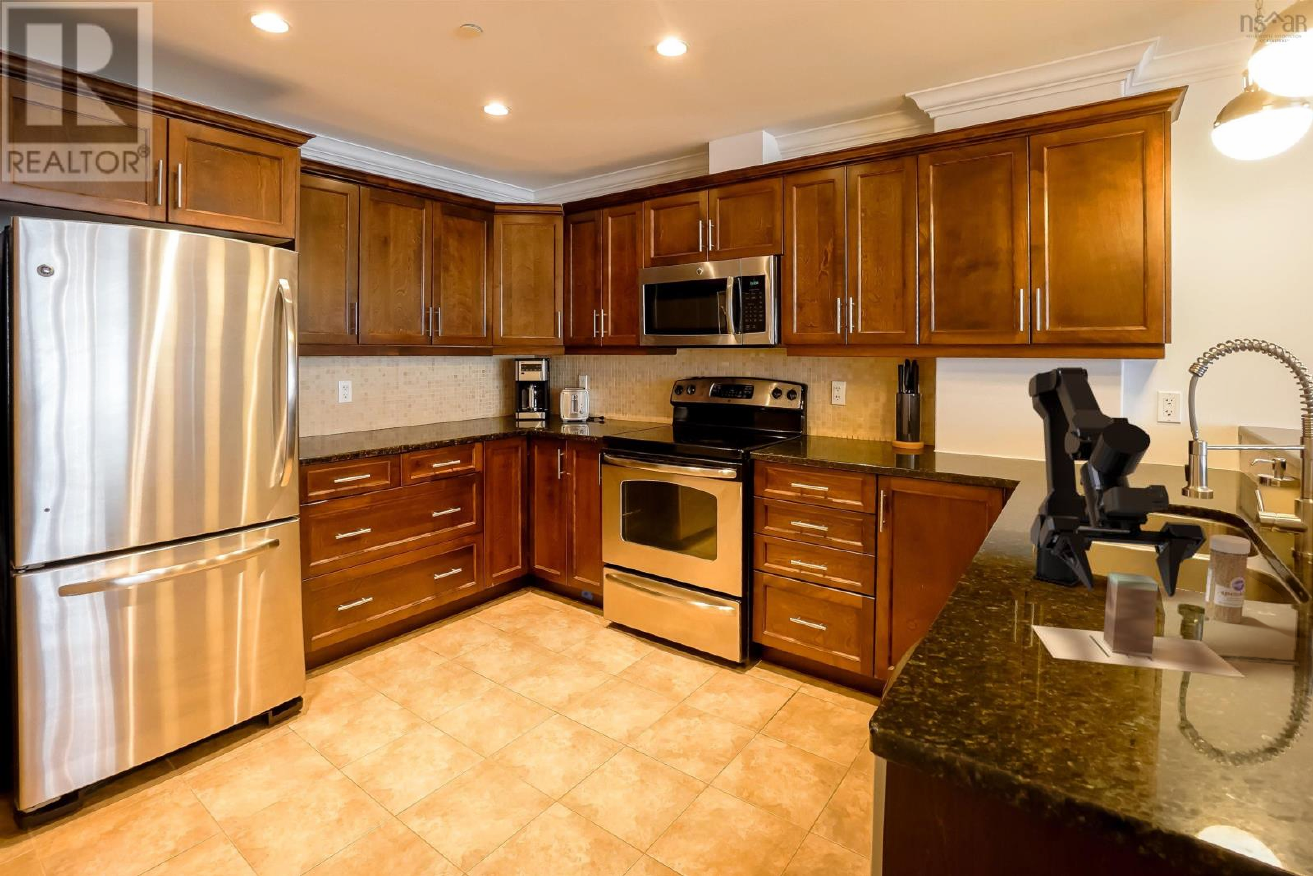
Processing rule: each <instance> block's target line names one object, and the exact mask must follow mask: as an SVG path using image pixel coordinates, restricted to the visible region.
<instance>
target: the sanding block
mask: <svg viewBox="0 0 1313 876" xmlns="http://www.w3.org/2000/svg"><path fill="white" fill-rule="evenodd" d="M1158 587H1159V583H1158V582H1157V581H1155V580H1154V579H1153V578H1152V577H1150V576H1149V575H1146V574H1138V573H1137V574H1136V573H1122V572H1111V571H1110V572H1108V573H1107V586H1106V600H1105V611H1104V613H1105V614H1104V627H1103V632H1104V638H1103V642H1104V643H1105V645H1106V646H1107V647H1108V648H1109V649H1110V650H1111V652H1112V653H1121V654H1130V655H1140V656H1150V657H1152V650H1153V638H1154V637H1155V626H1156V625H1155V624H1156V622H1155V621H1156V614H1157V612H1156V611H1157V601H1158V600H1157V599H1158V589H1159V588H1158Z"/></svg>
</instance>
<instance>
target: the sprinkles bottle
mask: <svg viewBox="0 0 1313 876" xmlns="http://www.w3.org/2000/svg"><path fill="white" fill-rule="evenodd" d="M1208 548H1209V552H1210V553H1209V561H1208V567H1207V568H1208V569H1207V576H1206V577H1207V579H1206V589H1205V606H1204V617H1206V618H1207V619H1210V620H1212V621H1216V622H1219V623H1224V624H1234V625H1237V624H1240V623H1242V620H1243V619H1242V617H1243V609H1244V604H1245V595H1246V582H1247V581H1246V579H1247V567H1248V566H1247V565H1248V556H1249V554H1250V552H1251V541H1250V539H1247V538H1244V537H1241V536H1235V535H1229V534H1213V535H1211V536H1210V539H1209V547H1208Z"/></svg>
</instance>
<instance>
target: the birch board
mask: <svg viewBox="0 0 1313 876" xmlns="http://www.w3.org/2000/svg"><path fill="white" fill-rule="evenodd" d="M1031 627H1032V629H1033V630H1034V631H1035V633H1036V634H1037V636H1038V637H1039V638H1040V640H1041V642H1042V643H1043V645H1044V646H1045V648H1046V649H1047V651H1048V652H1049V653H1050V654H1051V656H1052V657H1053V658H1054V659H1061V660H1062V659H1063V660H1069V661H1070V660H1071V661H1080V662H1092V663H1101V664H1111V665H1118V666H1119V665H1120V666H1131V667H1139V668H1148V669H1157V670H1158V669H1159V670H1169V671H1178V672H1179V671H1180V672H1186V673H1187V672H1188V673H1198V674H1204V675H1205V674H1206V675H1217V676H1226V677H1237V678H1247V677H1246V676H1245V675H1243V674H1242V673H1241V672H1240V671H1238V670H1237V669H1236V668H1235V667H1234V666H1232V665H1231V664H1230V663H1228V662H1227V661H1226V660H1225V659H1223V658H1222V657H1221V656H1220V655H1219V654H1217V653H1216V652H1215V651H1214V650H1213V649H1211V648H1210V647H1209V646H1208V645H1206V644H1205V643H1204V642H1202V640H1197V639H1185V638H1174V637H1166V636H1165V637H1164V636H1163V637H1162V636H1154V638H1153V650H1152V657H1150V656H1140V655H1130V654H1121V653H1112V652H1111V650H1110V649H1109V648H1108V647H1107V646H1106V645H1105V643H1104V642H1103V638H1104V631H1099V630H1087V629H1078V628H1077V629H1075V628H1067V627H1065V628H1063V627H1056V626H1055V627H1053V626H1045V625H1043V626H1042V625H1033V624H1031Z"/></svg>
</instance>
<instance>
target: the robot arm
mask: <svg viewBox="0 0 1313 876" xmlns="http://www.w3.org/2000/svg"><path fill="white" fill-rule="evenodd" d="M1027 389H1028V395H1029V397H1030V398H1031V404H1032V409H1033V410H1034V411H1035V412H1036V414H1037V415H1038V416H1039V417H1040V418H1041V420H1042V422H1043V438H1044V439H1043V440H1044V456H1045V457H1044V459H1045V473H1046V475H1045V476H1046V477H1045V478H1046V491H1047V493H1046V496H1045V498H1044V499H1043V501H1042V502H1041V503H1040V505H1039V507H1038V509H1037V514H1036V516H1035V517H1034V521H1033V523H1032V525H1031V527H1030V534H1029V535H1030V542H1031V543H1032V544H1033V545H1034V546H1035V547H1036V563H1035V573H1032V575H1031V578H1032V577H1037V578H1041V579H1045V580H1048V581H1047V582H1049V581H1051V582H1050V583H1053V582H1057V583H1056V584H1058V583H1061V584H1060V585H1062V584H1064V585H1063V586H1066V585H1067V587H1071V586H1074V585H1075V584H1077V583H1078V581H1079V582H1080V581H1081V582H1082V583H1083V584H1084V586H1085V587H1086V588H1087V590H1089V591H1093V590H1094V589H1095V582H1094V576H1093V573H1092V568H1091V565H1090V561H1089V558H1088V555H1087V552H1088V551H1089V552H1090V550H1091V548H1092V543H1093V542H1102V543H1107V544H1108V543H1109V544H1126V545H1128V544H1129V545H1142V546H1154V550H1155V553H1156V554H1157V555H1158V556H1157V558H1156V559H1155V563H1156V565H1157V567H1158V568H1157V569H1158V572H1159V574H1160V577H1161V582H1162V584H1163V587H1164V590H1165V592H1166V594H1167V596H1168V598H1173V597H1174V596H1175V594H1176V590H1177V589H1176V588H1177V584H1178V577H1179V571H1180V567H1181V564H1182V563H1183V562H1184V561H1185V560H1189V559H1192V558H1193V557H1194V556H1195V554H1196V553H1197V552H1199V550H1200V549H1201V547H1202V546H1203V545H1204V544H1205V542H1206V541H1207V540H1208V539H1207V535H1206V533H1205V530H1204V528H1203V527H1202V526H1201V525H1200V524H1197V523H1194V522H1179V521H1165V522H1164V524H1163V525H1162V527H1161V528H1160V530H1146V529H1145V530H1143V529H1142V528H1141V526H1142V525H1146V524H1147V523H1148V521H1149V518H1148V515H1149V514H1154V513H1155V511H1164V510H1166V509H1167V508H1168V507H1169V505H1170V497H1169V493H1168V491H1167V488H1166V485H1164V484H1149V485H1148V486H1146V487H1131V486H1130V483H1129V478H1128V476H1129V475H1131V474H1134V473H1135V471H1136V469H1137V468H1138V467H1139V464H1140V462H1142V460H1143V458H1144V456H1145V454H1146V452H1147V450H1148V449H1149V447H1150V445H1151V437H1150V434H1148V433H1146V431H1145V430H1144V429H1142V428H1141V427H1139V426H1138V425H1135V424H1132V423H1130V422H1129V419H1128V417H1112V416H1108V415H1106V414H1105V413H1103V412H1102V410H1101V408H1100V406H1099V403H1098V401H1097V398H1096V395H1095V394H1094V392H1093V390H1092V388H1091V385H1090V383H1089V373H1088V370H1087V368H1083V367H1081V366H1077V367H1072V366H1071V367H1068V366H1067V367H1064V366H1063V367H1062V366H1061V367H1059V366H1058V367H1057V368H1053V369H1051V370H1049V371H1046V372H1038V373H1036V374H1035V375H1034V376H1032V377H1031V378H1030V379H1029V382H1028V388H1027ZM1075 461H1076V462H1085V463H1083V464H1082V466H1081V467H1080V469H1079V475H1080V479H1079V480H1080V481H1079V485H1080V486H1082V489H1083V492H1084V493H1083V494H1084V497H1085V498H1084V497H1082V496H1081V495H1080V493H1079V492H1078V489H1077V477H1076V462H1075ZM1045 580H1044V581H1045ZM1076 582H1077V583H1076ZM1074 583H1075V584H1074ZM1073 584H1074V585H1073Z"/></svg>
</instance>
